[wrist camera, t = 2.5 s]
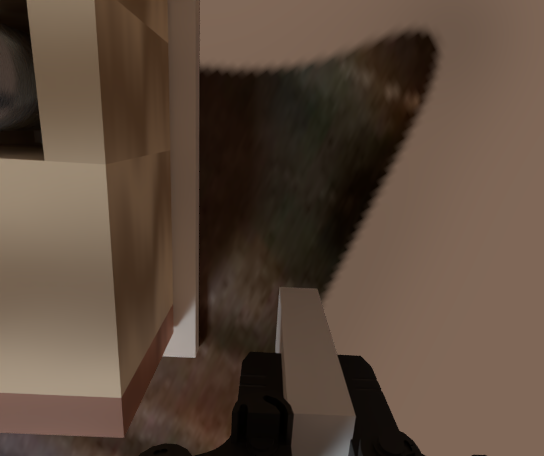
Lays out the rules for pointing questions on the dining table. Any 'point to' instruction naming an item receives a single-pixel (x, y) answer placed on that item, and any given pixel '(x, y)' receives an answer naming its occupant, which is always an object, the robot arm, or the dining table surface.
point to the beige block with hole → (86, 219)
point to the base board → (183, 173)
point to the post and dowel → (17, 82)
